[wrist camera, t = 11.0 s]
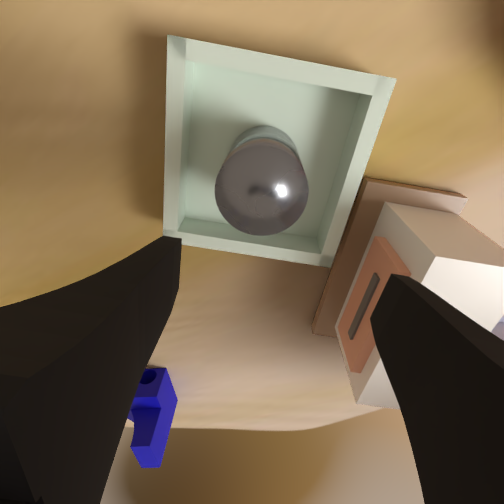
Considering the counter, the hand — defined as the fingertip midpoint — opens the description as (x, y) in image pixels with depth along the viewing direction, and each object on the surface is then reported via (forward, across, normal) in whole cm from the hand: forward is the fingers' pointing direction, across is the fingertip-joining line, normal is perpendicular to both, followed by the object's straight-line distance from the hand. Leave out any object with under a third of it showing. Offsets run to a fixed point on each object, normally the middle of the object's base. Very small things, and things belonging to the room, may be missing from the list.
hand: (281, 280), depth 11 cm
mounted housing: (+10, -8, +4) cm, 13 cm away
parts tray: (+9, +1, -2) cm, 10 cm away
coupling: (+9, +1, -2) cm, 9 cm away
